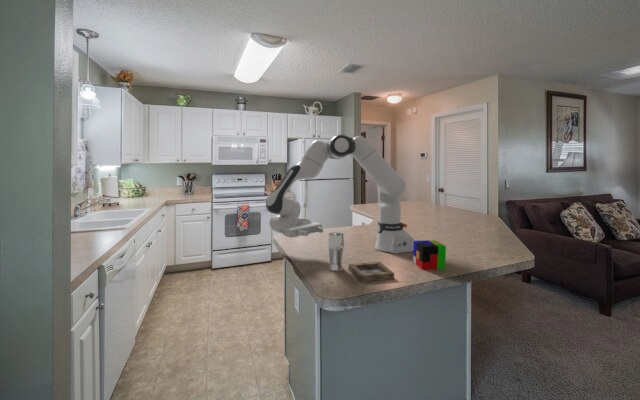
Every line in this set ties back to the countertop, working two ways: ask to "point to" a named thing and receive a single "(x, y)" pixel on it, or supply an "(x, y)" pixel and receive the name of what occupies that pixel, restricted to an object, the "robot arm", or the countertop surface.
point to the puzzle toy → (429, 254)
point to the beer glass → (335, 250)
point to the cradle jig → (370, 271)
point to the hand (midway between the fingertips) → (314, 232)
